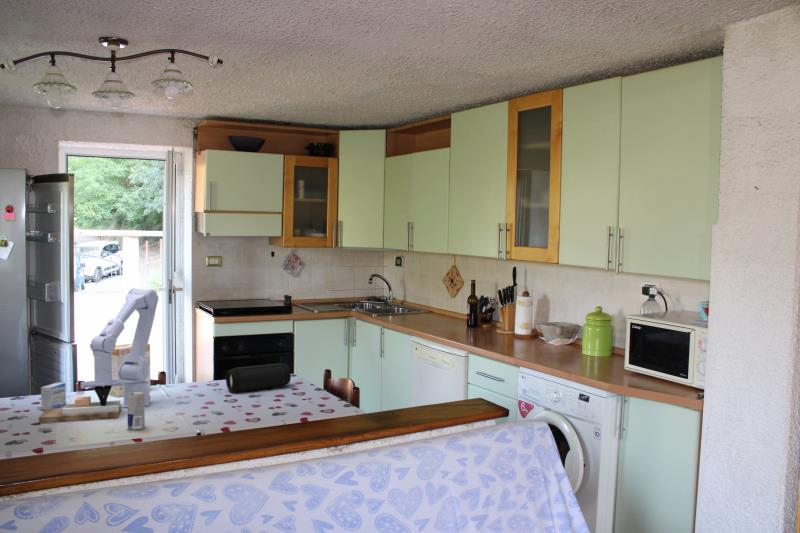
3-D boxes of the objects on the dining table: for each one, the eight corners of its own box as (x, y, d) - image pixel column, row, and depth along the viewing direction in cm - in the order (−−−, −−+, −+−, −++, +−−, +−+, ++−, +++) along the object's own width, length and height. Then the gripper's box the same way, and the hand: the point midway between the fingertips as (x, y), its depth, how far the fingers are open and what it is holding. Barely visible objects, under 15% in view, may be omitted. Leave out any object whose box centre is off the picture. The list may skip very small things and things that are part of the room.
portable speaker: (282, 383, 300) (282, 360, 300) (291, 388, 292) (291, 364, 292) (225, 390, 286) (225, 366, 286) (233, 395, 278) (233, 370, 278)
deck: (121, 409, 254) (120, 404, 254) (117, 418, 243) (117, 412, 243) (46, 414, 247) (45, 408, 247) (39, 423, 235) (39, 417, 235)
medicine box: (51, 410, 251) (51, 387, 251) (41, 410, 252) (40, 386, 252) (66, 405, 259) (65, 382, 259) (55, 404, 260) (55, 382, 259)
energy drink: (130, 425, 234) (130, 391, 233) (146, 425, 234) (146, 390, 234) (125, 430, 228) (125, 394, 228) (142, 430, 229) (141, 394, 228)
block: (90, 408, 248) (90, 396, 247) (89, 411, 243) (88, 399, 243) (77, 409, 246) (77, 396, 246) (75, 412, 242) (75, 400, 242)
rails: (120, 405, 252) (120, 400, 252) (118, 411, 244) (118, 405, 244) (66, 408, 247) (66, 403, 247) (62, 414, 239) (62, 409, 239)
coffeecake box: (141, 387, 288) (140, 341, 287) (151, 390, 284) (150, 343, 283) (107, 394, 276) (107, 346, 275) (117, 397, 272) (117, 348, 271)
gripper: (79, 372, 240) (79, 411, 241) (124, 370, 244) (124, 408, 245) (82, 368, 247) (82, 406, 247) (125, 366, 251) (126, 403, 252)
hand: (103, 406), depth 247 cm, fingers closed
